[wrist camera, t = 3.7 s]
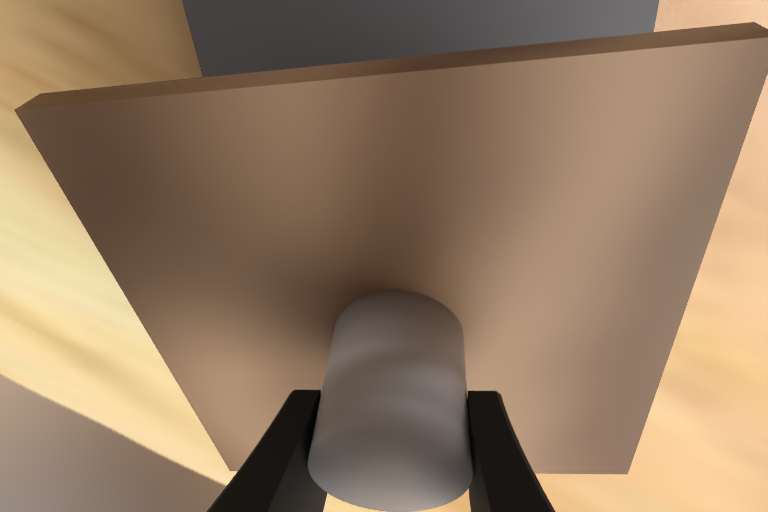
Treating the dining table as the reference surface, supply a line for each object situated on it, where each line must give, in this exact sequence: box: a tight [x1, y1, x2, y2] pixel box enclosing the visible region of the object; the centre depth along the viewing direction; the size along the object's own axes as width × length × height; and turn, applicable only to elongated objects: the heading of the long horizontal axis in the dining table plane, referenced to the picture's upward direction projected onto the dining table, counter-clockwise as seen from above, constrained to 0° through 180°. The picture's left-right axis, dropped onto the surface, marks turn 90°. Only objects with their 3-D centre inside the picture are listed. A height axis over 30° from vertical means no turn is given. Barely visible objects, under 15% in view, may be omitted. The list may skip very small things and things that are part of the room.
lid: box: [15, 22, 768, 512], centre depth 11 cm, size 13×13×4 cm
